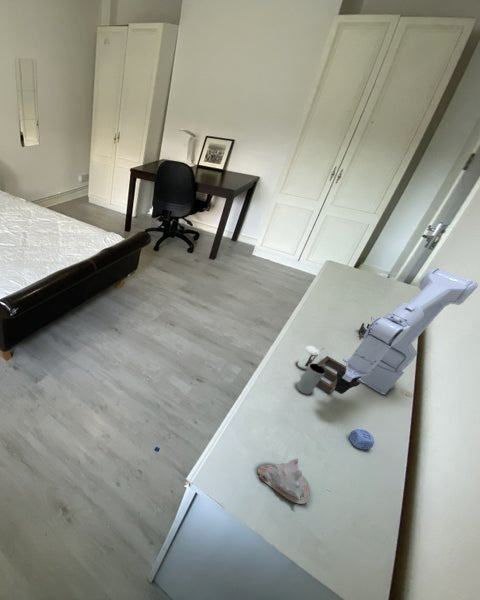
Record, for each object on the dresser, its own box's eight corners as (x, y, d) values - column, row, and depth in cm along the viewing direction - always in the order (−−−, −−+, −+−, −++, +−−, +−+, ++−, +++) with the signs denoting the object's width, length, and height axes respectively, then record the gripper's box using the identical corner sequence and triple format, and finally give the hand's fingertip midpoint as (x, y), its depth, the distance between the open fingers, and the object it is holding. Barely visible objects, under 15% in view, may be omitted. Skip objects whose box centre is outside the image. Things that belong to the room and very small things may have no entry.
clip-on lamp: (359, 326, 146) (357, 337, 133) (365, 313, 144) (363, 323, 131) (393, 336, 139) (394, 349, 126) (400, 323, 137) (402, 335, 124)
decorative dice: (353, 447, 94) (360, 439, 91) (347, 435, 97) (354, 427, 95) (368, 451, 93) (376, 443, 91) (362, 438, 96) (370, 430, 94)
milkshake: (313, 372, 118) (326, 352, 112) (297, 369, 118) (310, 349, 113) (309, 363, 121) (321, 343, 116) (293, 360, 122) (305, 341, 116)
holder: (348, 375, 117) (352, 370, 115) (328, 393, 110) (332, 388, 108) (323, 361, 123) (327, 355, 121) (303, 377, 115) (306, 372, 114)
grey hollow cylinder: (311, 396, 108) (325, 375, 102) (295, 390, 110) (309, 369, 104) (311, 387, 112) (325, 366, 106) (296, 381, 113) (309, 361, 108)
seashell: (311, 515, 78) (330, 497, 73) (258, 493, 82) (272, 475, 77) (305, 476, 86) (322, 457, 81) (257, 458, 90) (269, 439, 84)
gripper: (362, 338, 99) (340, 368, 106) (341, 356, 92) (319, 387, 100) (389, 351, 94) (364, 382, 102) (370, 372, 87) (344, 403, 95)
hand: (343, 386), depth 100 cm, fingers open, 7 cm apart
